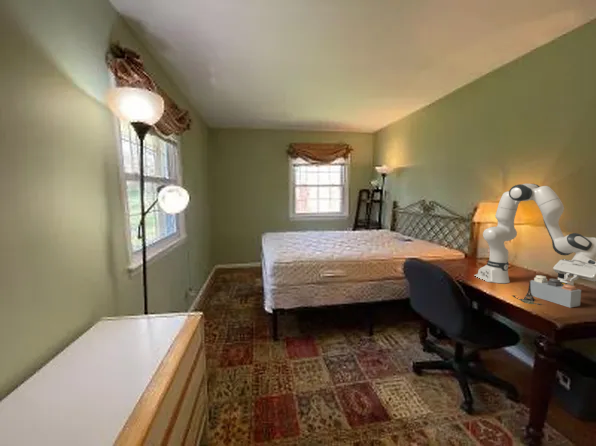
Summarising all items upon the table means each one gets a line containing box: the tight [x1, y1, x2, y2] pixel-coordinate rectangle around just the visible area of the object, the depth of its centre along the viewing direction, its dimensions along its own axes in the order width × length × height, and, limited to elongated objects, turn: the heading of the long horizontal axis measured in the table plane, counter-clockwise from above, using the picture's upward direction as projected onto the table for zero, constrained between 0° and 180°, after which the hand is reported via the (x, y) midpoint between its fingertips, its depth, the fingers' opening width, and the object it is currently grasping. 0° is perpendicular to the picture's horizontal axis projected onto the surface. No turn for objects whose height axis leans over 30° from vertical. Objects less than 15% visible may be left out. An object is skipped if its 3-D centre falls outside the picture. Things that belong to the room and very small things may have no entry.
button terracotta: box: [562, 284, 577, 291], centre depth 170 cm, size 5×5×8 cm
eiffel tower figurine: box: [511, 280, 541, 306], centre depth 178 cm, size 15×10×13 cm
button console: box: [529, 279, 582, 309], centre depth 178 cm, size 22×8×9 cm, turn 17°
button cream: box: [533, 274, 548, 283], centre depth 184 cm, size 5×5×8 cm
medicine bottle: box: [557, 273, 575, 286], centre depth 192 cm, size 7×7×12 cm
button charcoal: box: [547, 278, 561, 287], centre depth 177 cm, size 5×5×8 cm
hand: (568, 281), depth 170 cm, fingers closed
